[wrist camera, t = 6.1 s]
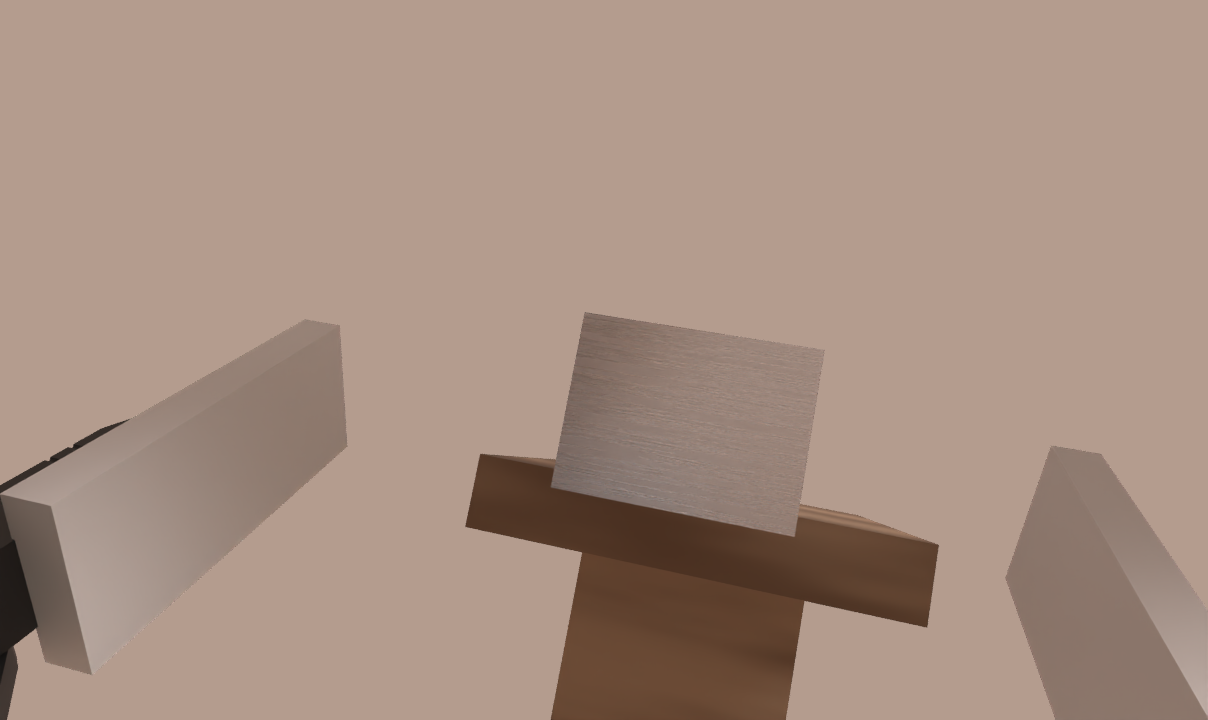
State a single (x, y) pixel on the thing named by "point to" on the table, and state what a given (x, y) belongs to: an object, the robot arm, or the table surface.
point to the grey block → (689, 422)
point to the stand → (695, 595)
